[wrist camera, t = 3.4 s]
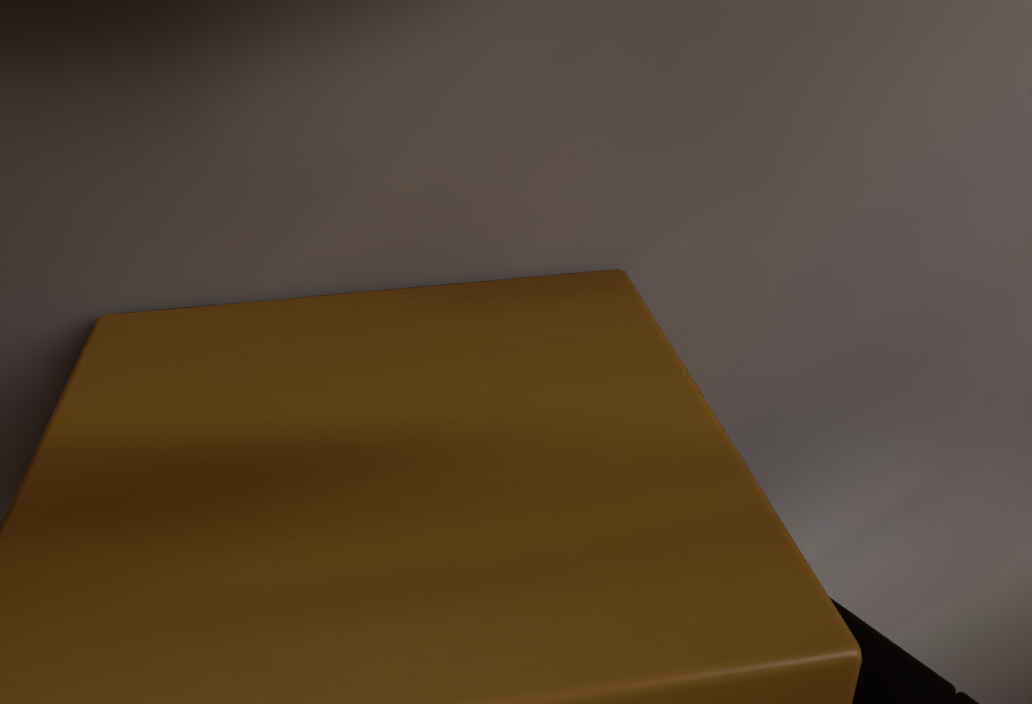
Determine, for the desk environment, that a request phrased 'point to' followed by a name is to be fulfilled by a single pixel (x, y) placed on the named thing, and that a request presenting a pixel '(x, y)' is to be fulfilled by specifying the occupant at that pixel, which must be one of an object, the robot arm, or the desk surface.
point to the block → (403, 514)
